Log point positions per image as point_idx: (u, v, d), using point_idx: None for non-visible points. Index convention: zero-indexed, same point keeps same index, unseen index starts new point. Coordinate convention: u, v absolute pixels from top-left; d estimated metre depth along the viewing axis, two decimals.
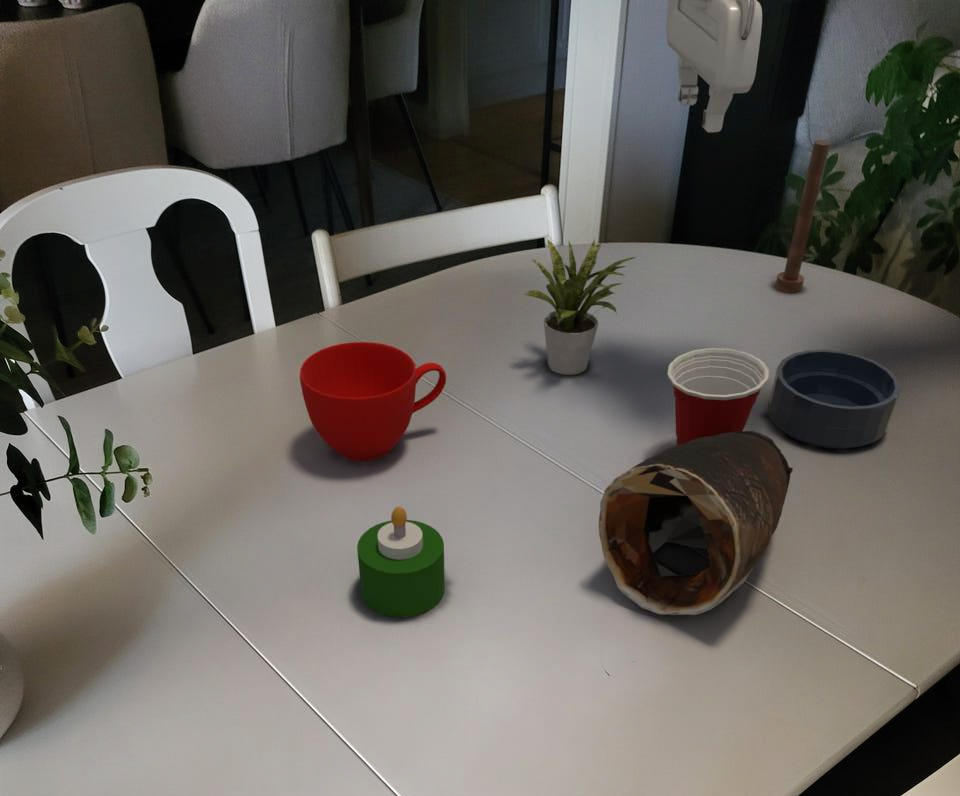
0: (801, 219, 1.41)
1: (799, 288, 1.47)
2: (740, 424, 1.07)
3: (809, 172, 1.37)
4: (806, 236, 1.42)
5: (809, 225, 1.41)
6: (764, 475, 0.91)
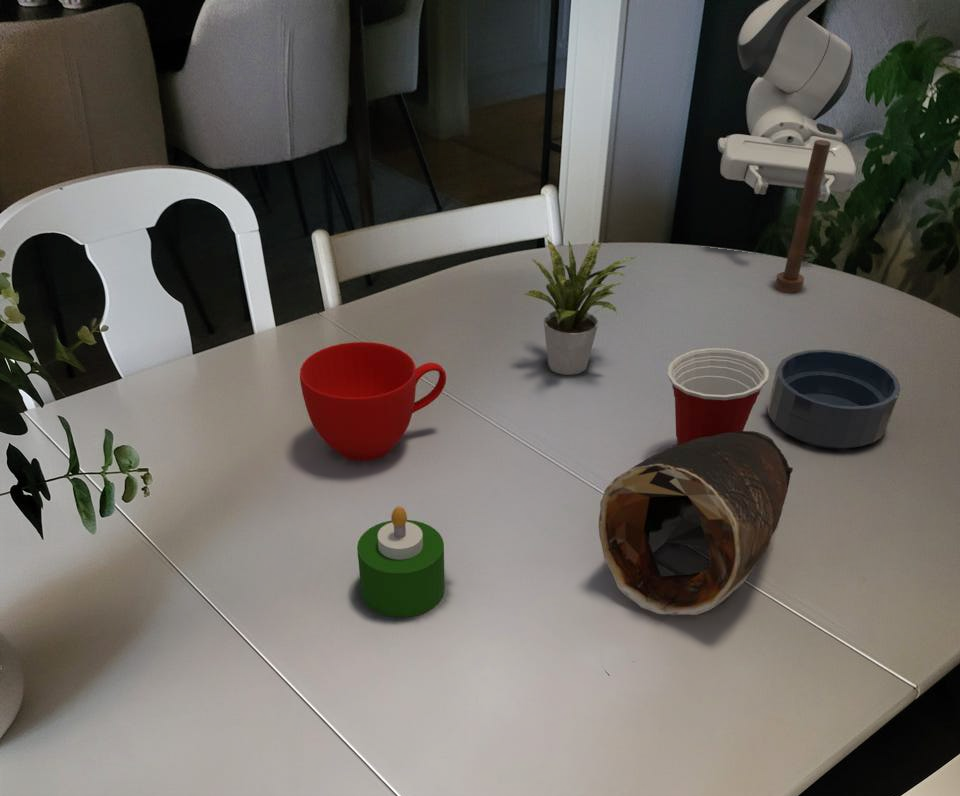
0: (801, 219, 1.41)
1: (799, 288, 1.47)
2: (740, 425, 1.07)
3: (809, 172, 1.37)
4: (806, 236, 1.42)
5: (809, 225, 1.41)
6: (764, 475, 0.91)
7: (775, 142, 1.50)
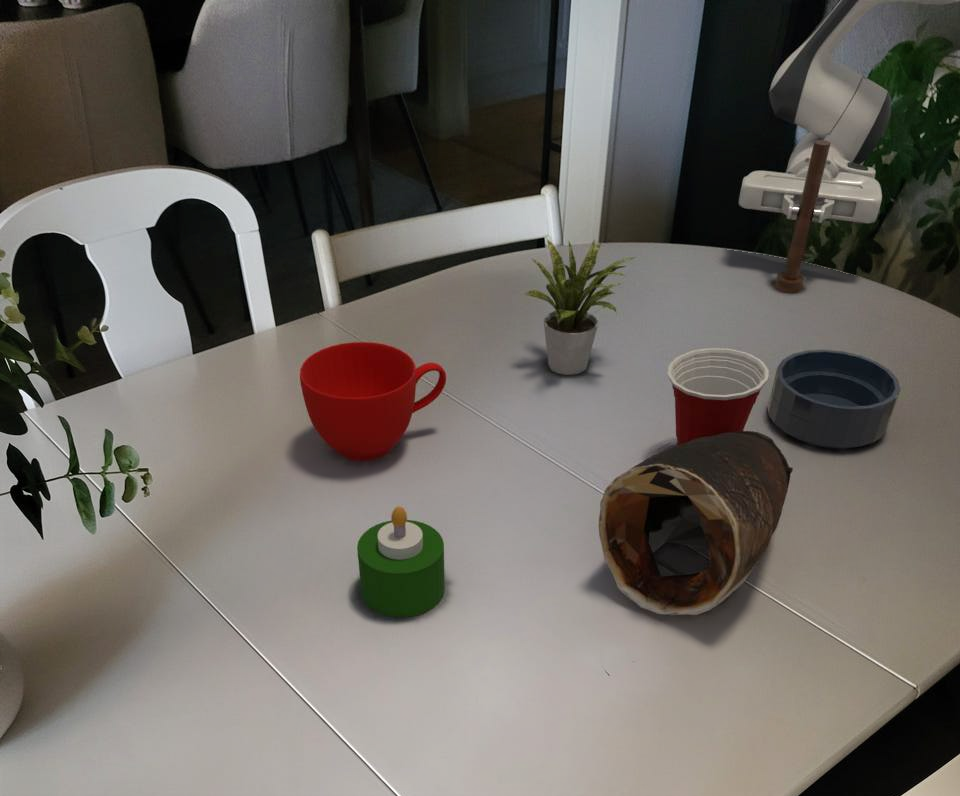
0: (801, 219, 1.41)
1: (799, 288, 1.47)
2: (740, 425, 1.07)
3: (809, 172, 1.37)
4: (806, 236, 1.42)
5: (809, 225, 1.41)
6: (764, 475, 0.91)
7: (799, 176, 1.47)
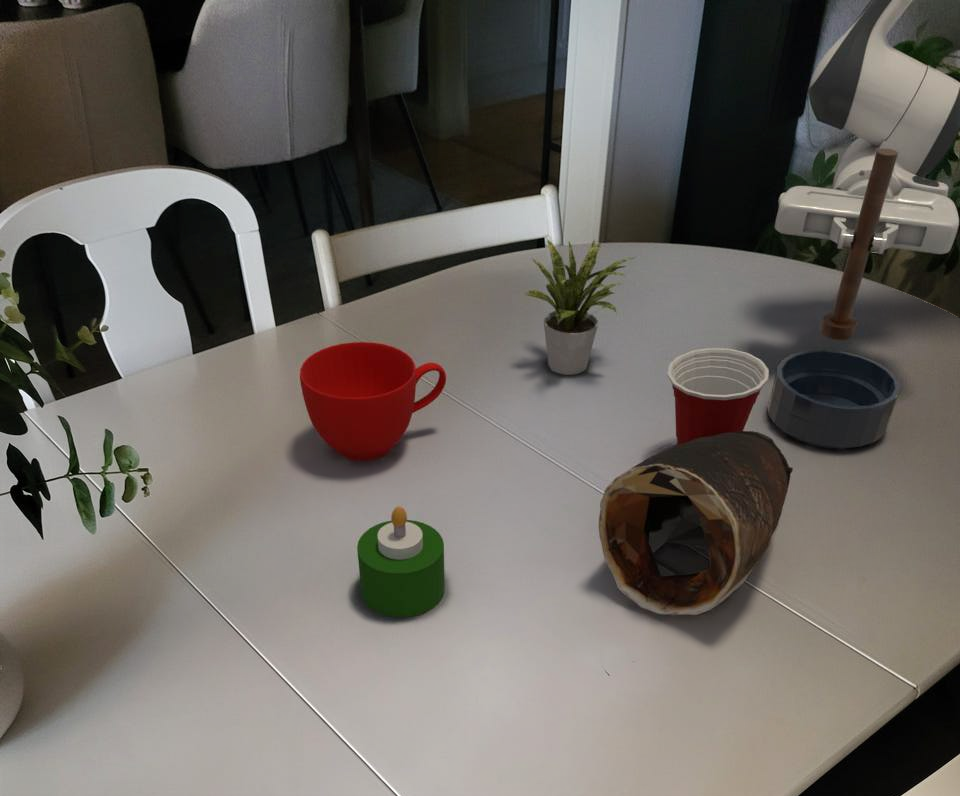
0: (856, 249, 1.11)
1: (851, 334, 1.17)
2: (740, 425, 1.07)
3: (869, 190, 1.06)
4: (862, 270, 1.12)
5: (866, 256, 1.11)
6: (764, 475, 0.91)
7: (852, 194, 1.17)
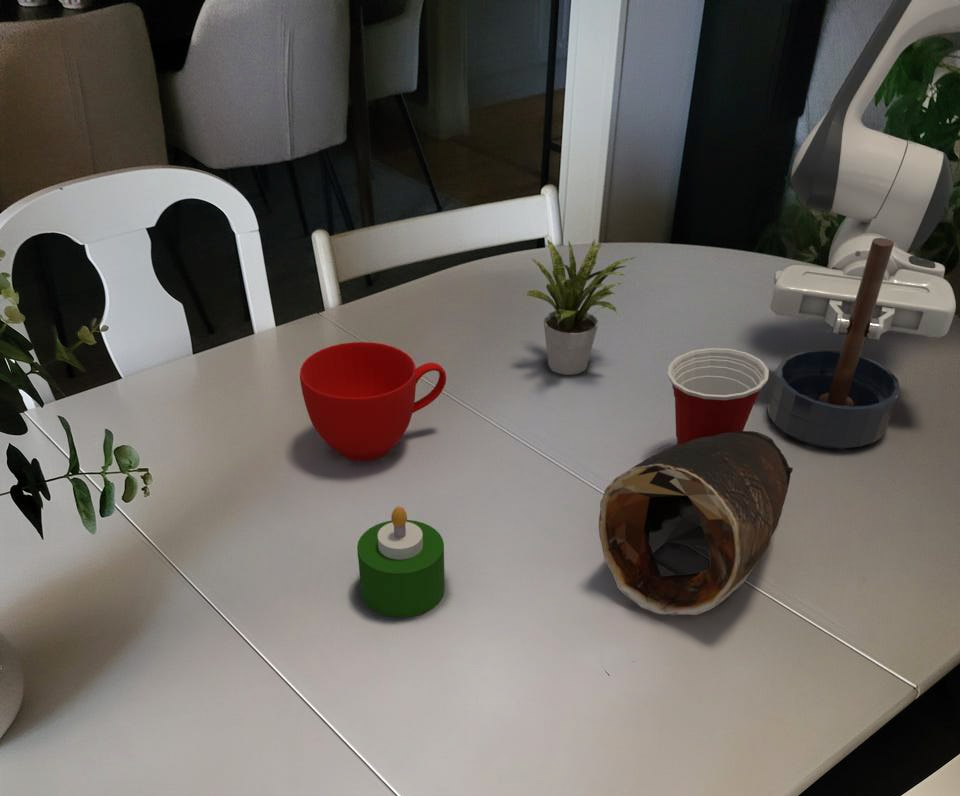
0: (852, 334, 1.10)
1: None
2: (740, 425, 1.07)
3: (865, 278, 1.06)
4: (858, 354, 1.11)
5: (862, 341, 1.10)
6: (764, 475, 0.91)
7: (848, 274, 1.16)
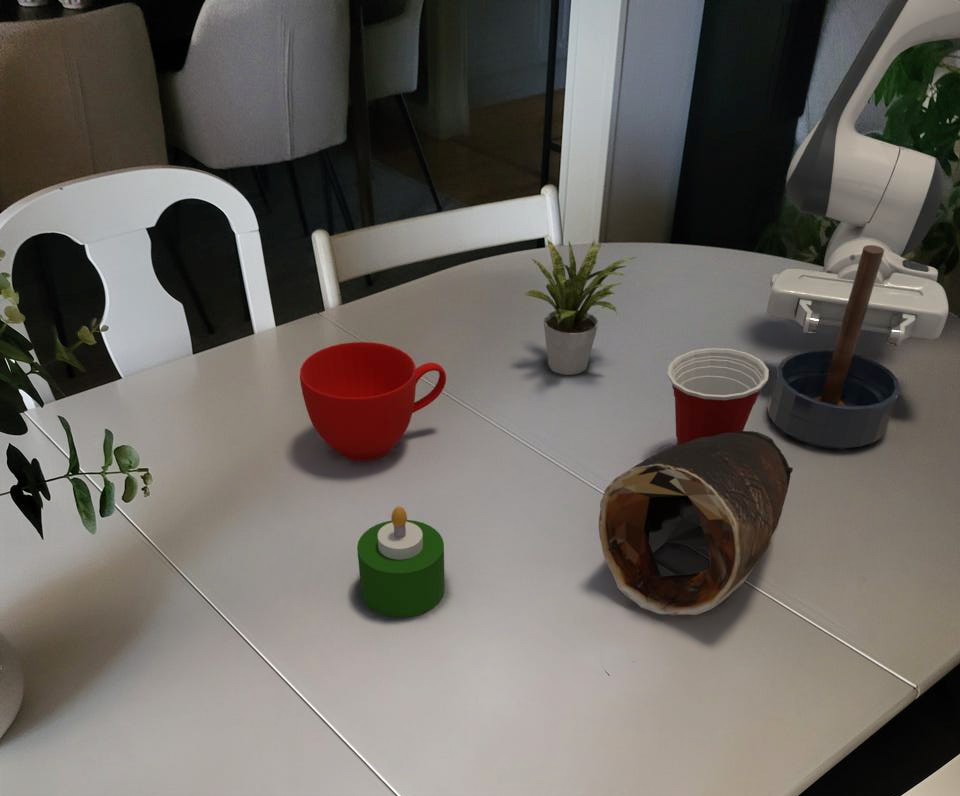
0: (844, 339, 1.12)
1: None
2: (740, 425, 1.07)
3: (856, 284, 1.08)
4: (850, 359, 1.14)
5: (854, 346, 1.13)
6: (764, 475, 0.91)
7: (843, 278, 1.18)
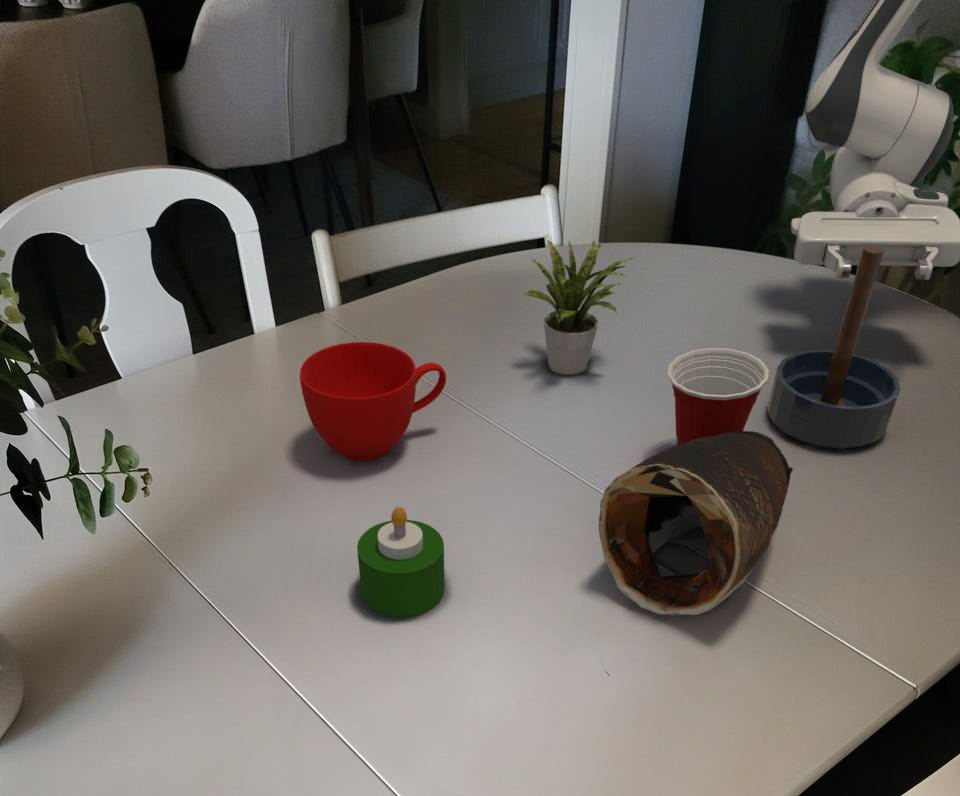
0: (844, 339, 1.12)
1: None
2: (740, 425, 1.07)
3: (856, 284, 1.08)
4: (850, 359, 1.14)
5: (854, 346, 1.13)
6: (764, 475, 0.91)
7: (861, 216, 1.24)
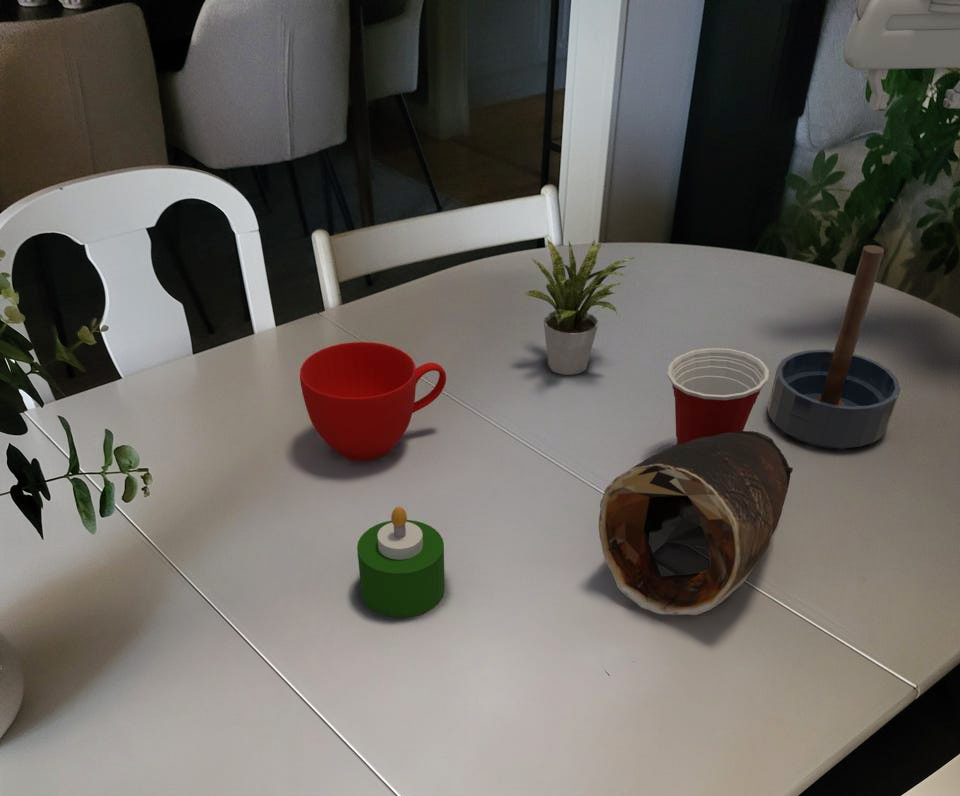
0: (844, 339, 1.12)
1: None
2: (740, 425, 1.07)
3: (856, 284, 1.08)
4: (850, 359, 1.14)
5: (854, 346, 1.13)
6: (764, 475, 0.91)
7: (933, 11, 1.09)
